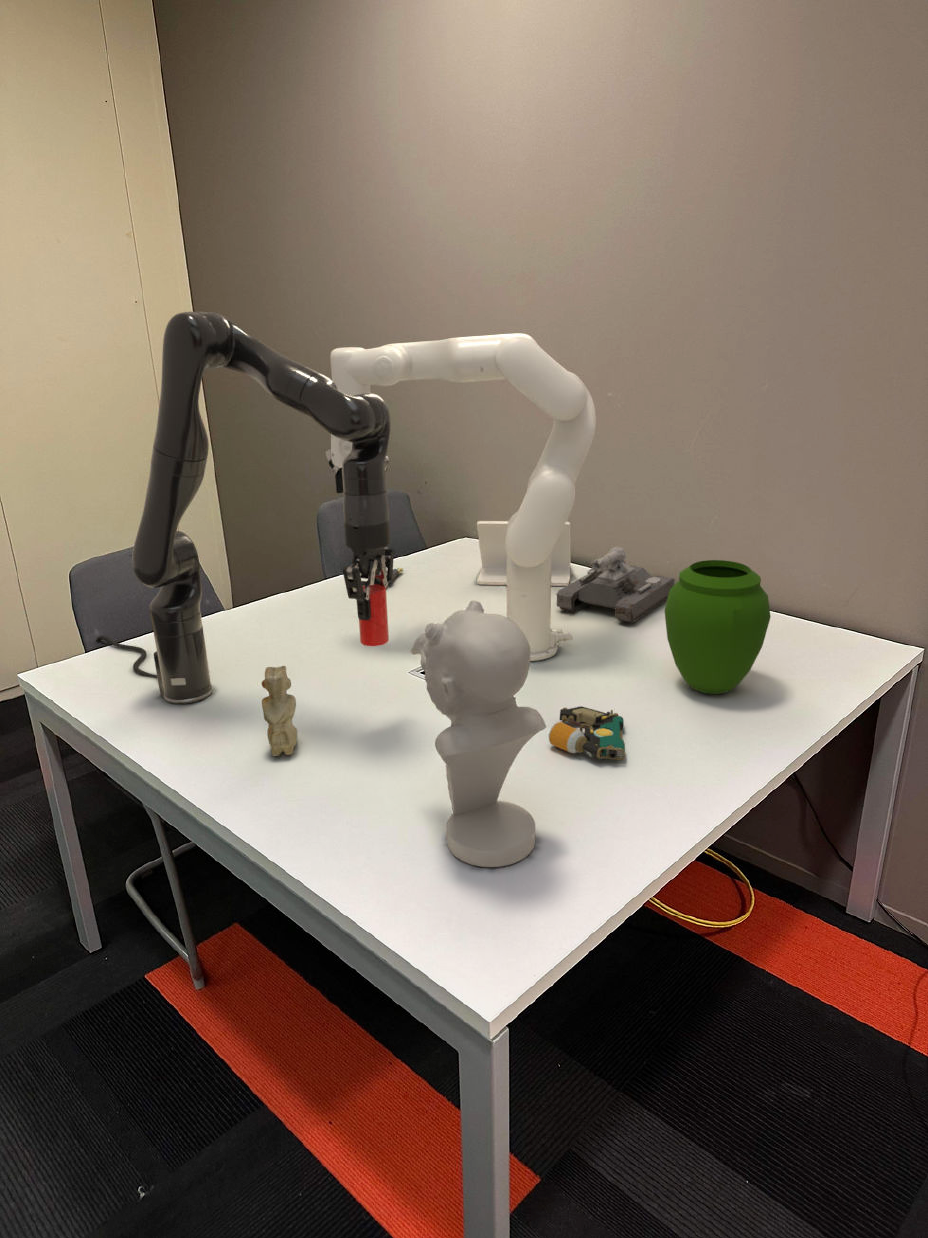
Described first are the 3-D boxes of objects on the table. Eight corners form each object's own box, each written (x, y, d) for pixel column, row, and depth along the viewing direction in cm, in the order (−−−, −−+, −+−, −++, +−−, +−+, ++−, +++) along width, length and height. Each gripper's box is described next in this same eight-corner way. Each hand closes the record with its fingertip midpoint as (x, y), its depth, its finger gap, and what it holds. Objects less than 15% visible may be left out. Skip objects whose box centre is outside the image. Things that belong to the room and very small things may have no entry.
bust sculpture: (481, 772, 140) (476, 569, 128) (565, 848, 120) (569, 617, 108) (392, 800, 134) (378, 588, 121) (465, 886, 114) (457, 642, 101)
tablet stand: (569, 585, 229) (570, 524, 223) (476, 584, 232) (475, 523, 226) (570, 566, 246) (571, 508, 240) (484, 564, 249) (483, 507, 243)
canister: (381, 647, 147) (378, 594, 143) (355, 644, 148) (351, 592, 145) (393, 637, 151) (390, 585, 147) (367, 634, 152) (364, 583, 149)
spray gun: (565, 715, 160) (645, 732, 154) (534, 751, 146) (620, 771, 140) (567, 694, 159) (647, 710, 153) (536, 729, 144) (623, 748, 138)
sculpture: (303, 738, 153) (295, 661, 148) (297, 758, 146) (289, 679, 141) (270, 740, 153) (261, 663, 148) (263, 760, 146) (253, 680, 141)
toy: (603, 584, 229) (605, 530, 224) (673, 597, 218) (677, 540, 213) (555, 612, 210) (556, 553, 205) (630, 627, 199) (633, 566, 194)
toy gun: (349, 584, 228) (385, 580, 226) (370, 567, 246) (403, 564, 244) (351, 593, 229) (387, 590, 227) (371, 576, 246) (404, 573, 244)
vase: (773, 678, 171) (786, 561, 163) (746, 717, 156) (759, 591, 147) (679, 659, 181) (686, 549, 173) (645, 694, 166) (651, 575, 157)
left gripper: (367, 506, 149) (373, 598, 155) (324, 526, 137) (332, 625, 143) (406, 510, 146) (410, 603, 152) (365, 530, 134) (371, 631, 140)
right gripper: (310, 411, 175) (317, 493, 181) (371, 416, 165) (377, 503, 171) (336, 407, 180) (343, 487, 186) (397, 411, 170) (402, 495, 176)
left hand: (372, 613), depth 148 cm, fingers closed on canister, 5 cm apart
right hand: (359, 494), depth 179 cm, fingers open, 9 cm apart
